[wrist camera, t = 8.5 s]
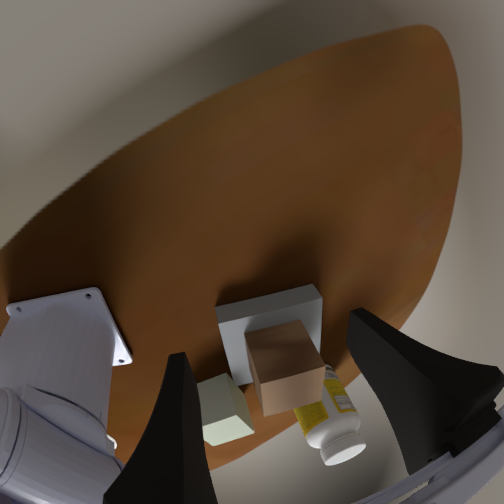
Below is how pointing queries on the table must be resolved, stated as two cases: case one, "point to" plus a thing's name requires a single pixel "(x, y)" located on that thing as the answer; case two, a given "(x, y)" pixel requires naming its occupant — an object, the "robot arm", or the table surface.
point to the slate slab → (266, 322)
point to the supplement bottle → (332, 422)
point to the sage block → (223, 410)
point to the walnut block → (284, 367)
